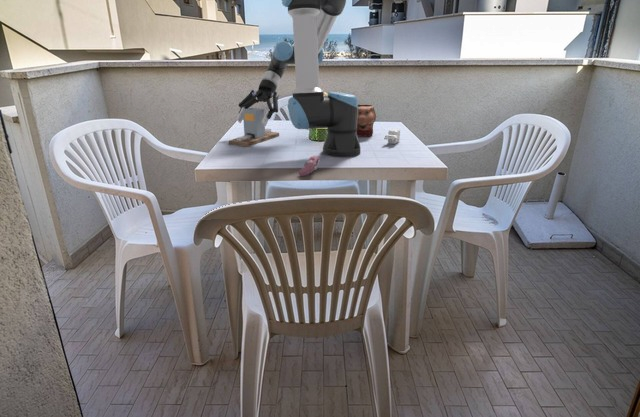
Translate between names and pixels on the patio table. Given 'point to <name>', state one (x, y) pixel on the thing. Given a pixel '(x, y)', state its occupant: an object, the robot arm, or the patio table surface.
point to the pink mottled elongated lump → (309, 166)
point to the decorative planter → (365, 120)
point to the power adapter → (393, 136)
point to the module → (254, 122)
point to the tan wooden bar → (251, 136)
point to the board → (254, 140)
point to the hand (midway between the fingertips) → (250, 122)
